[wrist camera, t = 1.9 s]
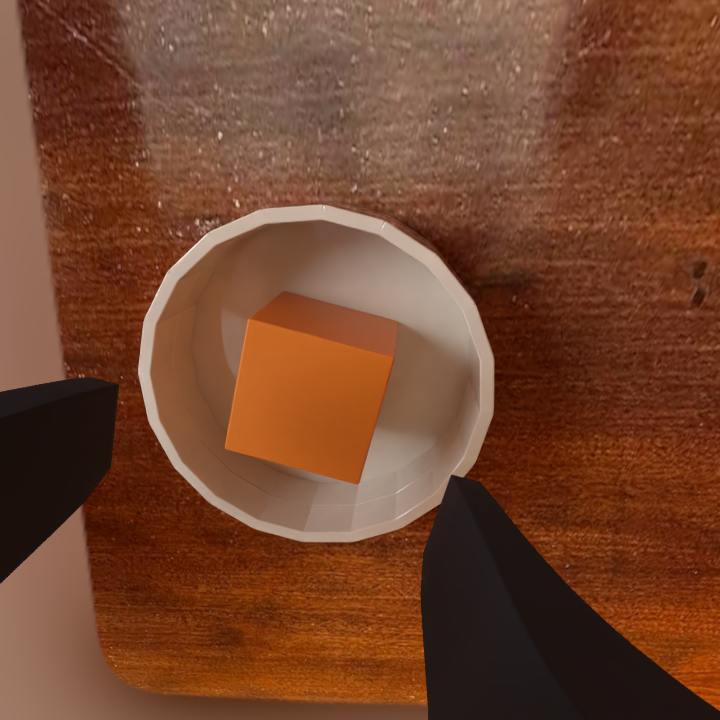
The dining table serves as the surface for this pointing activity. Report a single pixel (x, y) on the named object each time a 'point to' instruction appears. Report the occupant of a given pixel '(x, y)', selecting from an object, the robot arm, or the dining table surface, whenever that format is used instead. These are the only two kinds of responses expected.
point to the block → (311, 385)
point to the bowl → (340, 287)
